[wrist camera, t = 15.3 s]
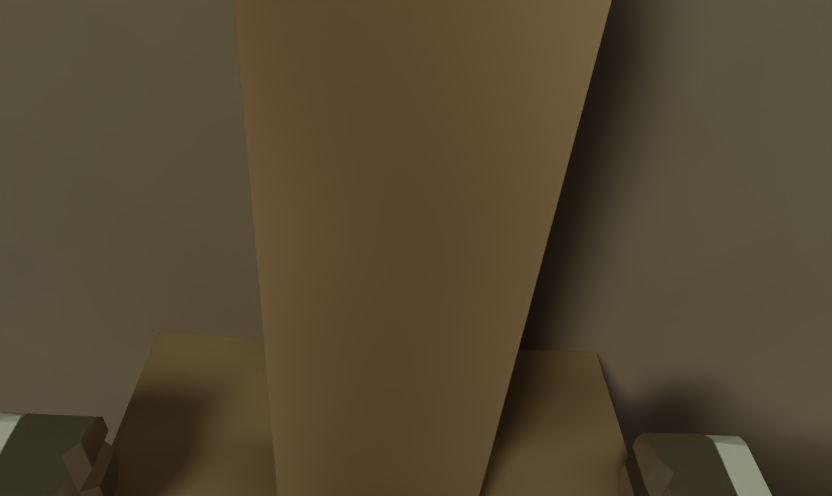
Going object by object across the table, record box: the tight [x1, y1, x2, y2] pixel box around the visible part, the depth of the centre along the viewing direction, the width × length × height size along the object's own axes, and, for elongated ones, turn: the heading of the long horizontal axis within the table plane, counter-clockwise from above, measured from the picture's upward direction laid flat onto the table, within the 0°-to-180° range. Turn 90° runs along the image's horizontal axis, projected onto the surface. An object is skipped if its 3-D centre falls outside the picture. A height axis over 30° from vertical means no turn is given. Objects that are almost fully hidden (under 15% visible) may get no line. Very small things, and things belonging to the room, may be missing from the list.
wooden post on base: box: [112, 0, 630, 496], centre depth 9 cm, size 9×11×5 cm
